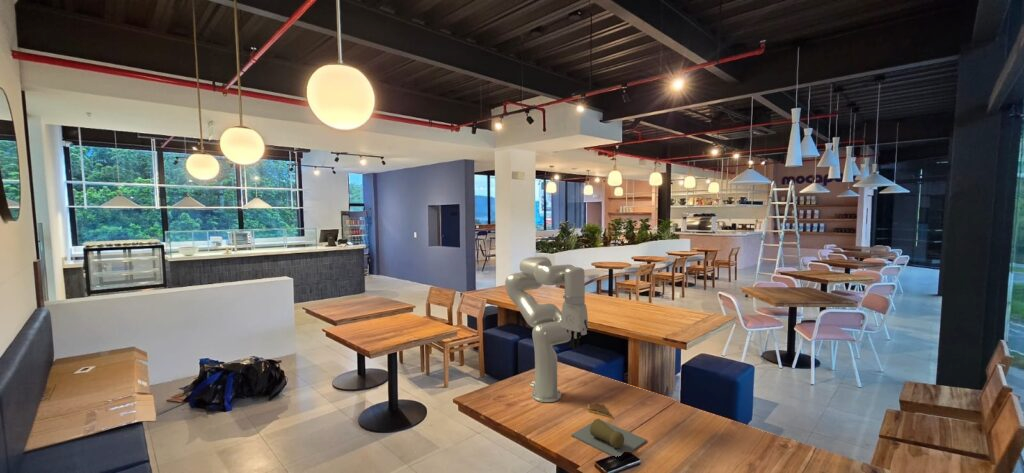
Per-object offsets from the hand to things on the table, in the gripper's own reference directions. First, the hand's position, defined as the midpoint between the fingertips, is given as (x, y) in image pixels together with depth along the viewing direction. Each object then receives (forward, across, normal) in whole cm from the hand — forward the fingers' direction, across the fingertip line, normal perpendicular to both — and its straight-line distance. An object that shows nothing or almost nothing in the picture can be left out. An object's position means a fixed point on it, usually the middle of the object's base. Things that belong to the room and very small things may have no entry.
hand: (574, 347), depth 161 cm
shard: (+28, +4, +11) cm, 30 cm away
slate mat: (+27, +18, -4) cm, 33 cm away
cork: (+24, +14, -6) cm, 28 cm away
